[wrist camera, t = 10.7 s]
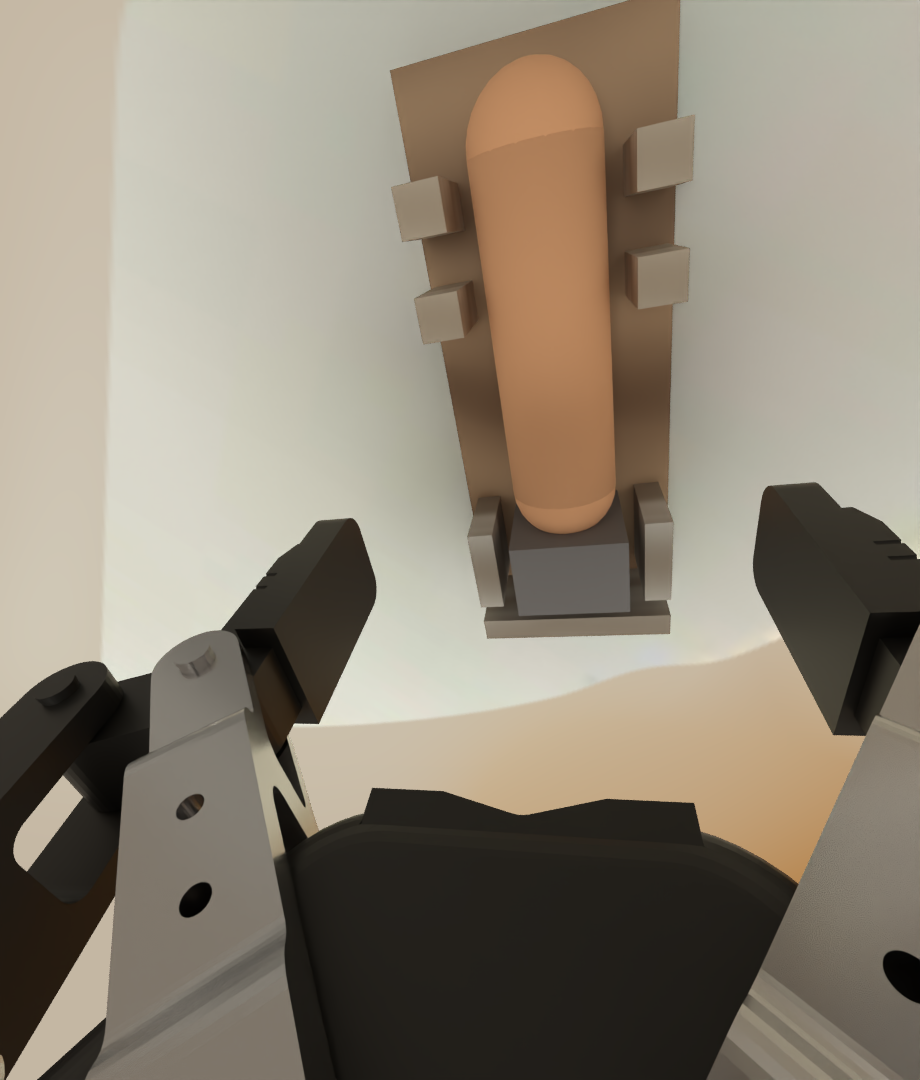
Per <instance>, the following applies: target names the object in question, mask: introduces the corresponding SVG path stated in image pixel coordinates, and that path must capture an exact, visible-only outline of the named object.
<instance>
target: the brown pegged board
mask: <svg viewBox="0 0 920 1080" xmlns="http://www.w3.org/2000/svg"><path fill="white" fill-rule="evenodd" d="M679 24H680V0H629V1H625V2H622V3H618V4H615V5H611V6H608V7H605V8H601V9H598V10H594V11H591V12H588V13H584V14H581V15H577V16H574V17H571V18H567V19H564V20H560V21H557V22H554V23H550V24H547V25H543V26H540V27H537V28H533V29H530V30H526V31H523V32H519V33H516V34H513V35H509V36H506V37H502V38H499V39H496V40H492V41H489V42H485V43H482V44H479V45H475V46H472V47H468V48H465V49H462V50H458V51H455V52H451V53H448V54H445V55H441V56H438V57H434V58H431V59H427V60H424V61H421V62H417V63H414V64H410V65H407V66H404V67H400V68H397V69H393V70H390V73H391V78H392V83H393V89H394V94H395V99H396V105H397V110H398V115H399V121H400V126H401V131H402V137H403V142H404V147H405V153H406V158H407V164H408V169H409V174H410V180H411V182H410V183H406V184H402V185H398V186H393V187H391V189H392V193H393V198H394V203H395V208H396V213H397V218H398V223H399V228H400V233H401V238H402V242H405V241H412V240H419V239H422V244H423V249H424V255H425V260H426V265H427V271H428V276H429V281H430V287H431V290H429V291H428V292H426V293H424V294H422V295H420V296H418V297H416V298H415V299H414V302H415V306H416V311H417V316H418V321H419V326H420V331H421V336H422V341H423V344H429V343H435V342H441V345H442V351H443V356H444V362H445V367H446V372H447V378H448V383H449V388H450V394H451V399H452V404H453V410H454V415H455V420H456V426H457V431H458V436H459V442H460V447H461V452H462V458H463V463H464V469H465V474H466V479H467V485H468V490H469V495H470V501H471V506H472V511H473V519H472V522H471V526H470V529H469V533H468V536H467V538H468V543H469V548H470V553H471V558H472V563H473V568H474V573H475V578H476V583H477V588H478V593H479V599H480V604H481V607H487V608H486V614H485V619H484V624H485V629H486V634H487V639H489V638H527V637H566V636H605V635H643V634H670V618H671V615H670V611H669V608H668V604H667V601H666V600H671V587H672V555H673V524H674V522H673V519H672V517H671V514H670V511H669V509H668V469H669V428H670V388H671V347H672V307H673V304H675V303H682V302H688V281H689V255H690V248H687V247H682V246H678V245H674V226H675V186H676V185H679V184H682V183H685V182H689V181H692V176H693V150H694V124H695V115H691V116H687V117H683V118H678V119H677V105H678V64H679ZM533 54H549V55H553V56H556V57H559V58H562V59H565V60H567V61H568V62H570V63H571V64H572V65H574V66H575V67H577V68H578V69H579V70H580V71H581V72H582V73H583V74H584V76H585V77H586V78H587V79H588V80H589V82H590V84H591V85H592V87H593V89H594V91H595V93H596V95H597V98H598V101H599V104H600V108H601V111H602V118H603V126H604V144H605V174H606V203H607V233H608V263H609V292H610V322H611V352H612V381H613V411H614V441H615V470H616V487H615V490H617V491H618V495H619V500H620V505H621V509H622V514H623V518H624V523H625V528H626V532H627V537H628V541H629V575H630V612H613V613H587V614H560V615H534V616H519V613H518V607H517V601H516V594H515V588H514V582H513V575H512V569H511V563H510V556H509V545H510V539H511V532H512V525H513V519H514V512H515V506H516V500H515V496H514V492H513V485H512V478H511V471H510V464H509V457H508V450H507V443H506V436H505V429H504V422H503V415H502V408H501V401H500V394H499V387H498V380H497V373H496V366H495V359H494V352H493V345H492V338H491V331H490V323H489V316H488V309H487V302H486V295H485V288H484V281H483V274H482V267H481V260H480V253H479V246H478V239H477V232H476V225H475V218H474V211H473V204H472V197H471V190H470V183H469V176H468V169H467V161H466V136H467V127H468V124H469V120H470V116H471V112H472V110H473V108H474V105H475V103H476V101H477V99H478V96H479V95H480V93H481V92H482V90H483V89H484V87H485V86H486V84H487V83H488V81H489V80H490V79H491V78H492V77H493V76H494V75H495V74H496V73H497V72H498V71H499V70H500V69H501V68H503V67H504V66H506V65H507V64H509V63H511V62H513V61H514V60H516V59H518V58H521V57H524V56H527V55H533Z"/></svg>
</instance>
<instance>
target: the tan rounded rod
mask: <svg viewBox="0 0 920 1080" xmlns="http://www.w3.org/2000/svg"><path fill="white" fill-rule="evenodd" d="M466 161H467V169H468V176H469V183H470V190H471V197H472V204H473V211H474V218H475V225H476V232H477V239H478V246H479V253H480V260H481V267H482V274H483V281H484V288H485V295H486V302H487V309H488V316H489V323H490V331H491V338H492V345H493V352H494V359H495V366H496V373H497V380H498V387H499V394H500V401H501V408H502V415H503V422H504V429H505V436H506V443H507V450H508V457H509V464H510V471H511V478H512V485H513V492H514V496H515V500H516V506H515V512H514V519H513V525H512V532H511V539H510V545H509V556H510V563H511V569H512V575H513V582H514V588H515V594H516V601H517V607H518V613H519V616H534V615H560V614H587V613H613V612H630V575H629V541H628V537H627V532H626V528H625V523H624V518H623V514H622V509H621V505H620V500H619V495H618V491H617V490H615V487H616V470H615V441H614V411H613V381H612V352H611V322H610V292H609V263H608V233H607V203H606V174H605V144H604V126H603V118H602V111H601V108H600V104H599V101H598V98H597V95H596V93H595V91H594V89H593V87H592V85H591V84H590V82H589V80H588V79H587V78H586V77H585V76H584V74H583V73H582V72H581V71H580V70H579V69H578V68H577V67H575V66H574V65H572V64H571V63H570V62H568V61H567V60H565V59H562V58H559V57H556V56H553V55H549V54H533V55H527V56H524V57H521V58H518V59H516V60H514V61H513V62H511V63H509V64H507V65H506V66H504V67H503V68H501V69H500V70H499V71H498V72H497V73H496V74H495V75H494V76H493V77H492V78H491V79H490V80H489V81H488V83H487V84H486V86H485V87H484V89H483V90H482V92H481V93H480V95H479V96H478V99H477V101H476V103H475V105H474V108H473V110H472V112H471V116H470V120H469V124H468V127H467V136H466Z"/></svg>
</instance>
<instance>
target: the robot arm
mask: <svg viewBox="0 0 920 1080" xmlns="http://www.w3.org/2000/svg"><path fill="white" fill-rule="evenodd" d="M753 572H754V579H755V583H756V587H757V589H758V592H759V594H760V596H761V598H762V599H763V601H764V603H765V605H766V607H767V609H768V611H769V613H770V615H771V617H772V619H773V620H774V622H775V624H776V626H777V628H778V630H779V632H780V634H781V636H782V638H783V640H784V642H785V643H786V645H787V647H788V649H789V651H790V653H791V655H792V657H793V659H794V661H795V663H796V664H797V666H798V668H799V670H800V672H801V674H802V676H803V678H804V680H805V682H806V684H807V685H808V687H809V689H810V691H811V693H812V695H813V697H814V699H815V701H816V703H817V705H818V707H819V708H820V710H821V712H822V714H823V716H824V718H825V720H826V722H827V724H828V726H829V728H830V730H831V732H832V733H833V735H854V736H855V735H856V736H866V737H865V739H864V741H863V743H862V746H861V748H860V751H859V753H858V754H857V757H856V759H855V761H854V763H853V765H852V768H851V770H850V772H849V774H848V776H847V779H846V781H845V783H844V785H843V788H842V790H841V792H840V794H839V796H838V799H837V801H836V803H835V805H834V807H833V809H832V812H831V814H830V816H829V818H828V821H827V823H826V825H825V827H824V829H823V832H822V834H821V836H820V839H819V840H818V843H817V845H816V847H815V849H814V851H813V854H812V856H811V858H810V860H809V863H808V865H807V867H806V869H805V871H804V874H803V876H802V878H801V880H800V882H799V884H798V883H797V882H795V881H794V880H793V879H792V878H790V877H789V876H788V875H786V874H785V873H783V872H782V871H780V870H779V869H777V868H775V867H774V866H773V865H771V864H770V863H768V862H767V861H765V860H764V859H762V858H760V857H758V856H756V855H754V854H753V853H751V852H749V851H747V850H745V849H743V848H741V847H739V846H737V845H735V844H733V843H730V842H728V841H725V840H723V839H721V838H718V837H716V836H713V835H710V834H706V833H703V832H701V831H700V827H699V823H698V818H697V814H696V810H695V805H694V803H682V802H660V801H639V800H618V799H617V800H616V799H604V800H599V801H594V802H589V803H584V804H579V805H574V806H570V807H564V808H560V809H554V810H549V811H545V812H540V813H535V814H530V815H516V814H512V813H509V812H506V811H502V810H500V809H496V808H493V807H490V806H487V805H484V804H481V803H478V802H475V801H472V800H468V799H465V798H462V797H459V796H456V795H453V794H450V793H447V792H444V791H427V790H406V789H384V788H372V790H371V793H370V797H369V800H368V803H367V806H366V809H365V812H364V814H360V815H356V816H353V817H350V818H347V819H344V820H342V821H339V822H337V823H335V824H333V825H330V826H328V827H326V828H324V829H322V830H320V831H319V829H318V826H317V823H316V820H315V817H314V814H313V811H312V807H311V804H310V800H309V797H308V793H307V791H306V787H305V783H304V780H303V776H302V773H301V770H300V766H299V763H298V760H297V756H296V753H295V749H294V746H293V744H292V741H291V740H290V738H289V736H288V734H289V732H290V730H291V728H292V726H293V724H294V723H298V724H319V722H320V720H321V718H322V716H323V714H324V712H325V709H326V707H327V705H328V703H329V701H330V699H331V696H332V694H333V692H334V690H335V688H336V686H337V683H338V681H339V679H340V677H341V675H342V673H343V671H344V668H345V666H346V664H347V662H348V660H349V658H350V655H351V653H352V651H353V649H354V647H355V645H356V642H357V640H358V638H359V636H360V634H361V632H362V629H363V627H364V625H365V623H366V621H367V619H368V616H369V614H370V612H371V610H372V608H373V606H374V603H375V599H376V580H375V575H374V572H373V569H372V566H371V563H370V560H369V556H368V553H367V550H366V547H365V544H364V541H363V538H362V535H361V531H360V528H359V526H358V524H357V522H356V521H355V520H354V519H352V518H347V519H334V520H321V521H318V522H316V523H315V525H314V526H313V527H312V528H311V530H310V531H309V532H308V534H307V535H306V536H305V538H304V539H303V540H302V541H301V543H300V544H297V545H296V546H295V547H293V548H292V549H290V550H289V551H288V552H286V553H285V554H284V555H282V556H281V557H279V558H278V559H277V561H276V562H275V563H274V564H273V566H272V567H271V568H270V569H269V571H268V572H267V573H266V575H267V576H266V577H263V578H262V579H261V581H260V582H259V583H258V585H257V586H256V589H254V590H253V591H252V592H251V593H250V595H249V596H248V597H247V598H246V600H245V601H244V602H243V603H242V605H241V606H240V607H239V608H238V610H237V611H236V612H235V613H234V615H233V616H232V617H231V618H230V620H229V621H228V622H227V623H226V625H225V626H224V627H223V628H222V630H218V631H210V632H205V633H202V634H199V635H196V636H193V637H191V638H189V639H187V640H185V641H183V642H182V643H180V644H178V645H177V646H175V647H174V648H172V649H171V650H170V651H169V652H167V653H166V654H165V655H164V656H163V657H162V658H161V659H160V660H159V662H158V663H157V664H156V666H155V667H154V669H153V672H152V673H150V674H146V675H142V676H138V677H134V678H130V679H126V680H123V681H119V682H117V681H116V680H115V678H114V677H113V675H112V674H111V673H110V671H109V670H108V669H107V667H106V666H105V665H104V664H103V663H101V662H95V661H91V662H83V663H79V664H76V665H72V666H70V667H67V668H65V669H62V670H60V671H58V672H56V673H54V674H52V675H51V676H49V677H47V678H46V679H44V680H43V681H41V682H40V683H38V684H37V685H36V686H34V687H33V688H32V689H30V690H29V691H28V692H27V693H26V694H25V695H24V696H23V697H22V698H21V699H20V700H19V701H18V702H17V703H16V704H15V705H14V706H12V707H11V708H10V709H9V710H8V711H7V712H6V713H5V714H4V715H3V717H1V718H0V1080H6V1078H7V1077H8V1075H9V1073H10V1071H11V1070H12V1068H13V1066H14V1065H15V1063H16V1061H17V1060H18V1058H19V1056H20V1055H21V1053H22V1051H23V1050H24V1048H25V1046H26V1045H27V1043H28V1041H29V1040H30V1038H31V1036H32V1034H33V1033H34V1031H35V1029H36V1028H37V1026H38V1024H39V1023H40V1021H41V1019H42V1018H43V1016H44V1014H45V1013H46V1011H47V1009H48V1008H49V1006H50V1004H51V1003H52V1001H53V999H54V997H55V996H56V994H57V993H58V991H59V989H60V987H61V986H62V984H63V982H64V981H65V979H66V977H67V976H68V974H69V972H70V971H71V969H72V967H73V966H74V964H75V962H76V961H77V959H78V957H79V956H80V954H81V952H82V950H83V949H84V947H85V945H86V944H87V942H88V940H89V939H90V937H91V935H92V934H93V932H94V930H95V929H96V927H97V925H98V923H99V922H100V920H101V918H102V917H103V915H104V913H105V912H106V910H107V908H108V907H109V905H110V903H111V902H112V900H113V898H114V897H115V906H114V920H113V933H112V947H111V961H110V974H109V988H108V1002H107V1016H106V1018H105V1019H104V1020H103V1021H101V1022H100V1023H99V1024H98V1025H97V1026H96V1027H95V1028H94V1029H93V1030H92V1031H90V1032H89V1033H88V1034H87V1035H86V1036H85V1037H84V1038H83V1039H82V1040H80V1041H79V1042H78V1043H77V1044H76V1045H75V1046H74V1047H73V1048H72V1049H71V1050H69V1051H68V1052H67V1053H66V1054H65V1055H64V1056H63V1057H62V1058H61V1059H60V1060H59V1061H57V1062H56V1063H55V1064H54V1065H53V1066H52V1067H51V1068H50V1069H49V1070H47V1071H46V1072H45V1073H44V1074H43V1075H42V1076H41V1077H40V1078H39V1079H37V1080H920V559H917V555H916V554H915V553H914V552H913V551H912V550H911V549H910V548H909V547H908V546H907V545H906V544H905V543H902V544H901V539H900V538H899V537H898V536H897V535H896V534H895V533H894V532H892V531H891V530H890V529H889V528H888V527H887V526H886V525H885V524H884V523H883V522H882V521H880V520H878V519H876V518H874V517H872V516H870V515H868V514H866V513H863V512H861V511H859V510H857V509H855V508H853V507H848V508H841V507H840V506H839V505H838V504H837V503H836V502H835V501H834V500H833V498H832V497H831V496H830V495H829V494H828V493H827V492H826V491H825V490H824V489H823V488H822V487H821V486H820V485H819V484H818V483H815V482H813V483H800V484H787V485H775V486H768V487H766V489H765V490H764V492H763V495H762V500H761V507H760V514H759V521H758V528H757V535H756V542H755V549H754V557H753ZM62 775H63V776H64V777H65V778H66V779H67V780H68V781H69V782H70V783H71V784H72V785H73V786H74V788H75V789H76V790H77V791H78V792H79V793H80V794H81V795H82V796H83V798H82V799H81V801H80V802H79V803H78V805H77V806H76V807H75V809H74V810H73V811H72V813H71V814H70V815H69V817H68V818H67V819H66V821H65V822H64V823H63V825H62V826H61V827H60V829H59V830H58V831H57V833H56V834H55V835H54V837H53V838H52V839H51V841H50V842H49V843H48V845H47V846H46V847H45V849H44V850H43V851H42V853H41V854H40V855H39V857H38V858H37V859H36V860H35V862H34V863H33V864H32V866H31V867H30V869H29V870H28V871H27V872H26V871H25V870H24V869H23V868H21V866H19V865H18V863H17V862H16V861H15V858H14V854H13V847H14V842H15V838H16V836H17V833H18V831H19V830H20V828H21V826H22V825H23V823H24V822H25V821H26V820H27V818H28V817H29V816H30V815H31V813H32V812H33V811H34V810H35V809H36V807H37V806H38V805H39V804H40V802H41V801H42V800H43V799H44V798H45V796H46V795H47V794H48V793H49V791H50V790H51V789H52V788H53V786H54V785H55V784H56V783H57V782H58V780H59V779H60V778H61V777H62Z"/></svg>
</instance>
